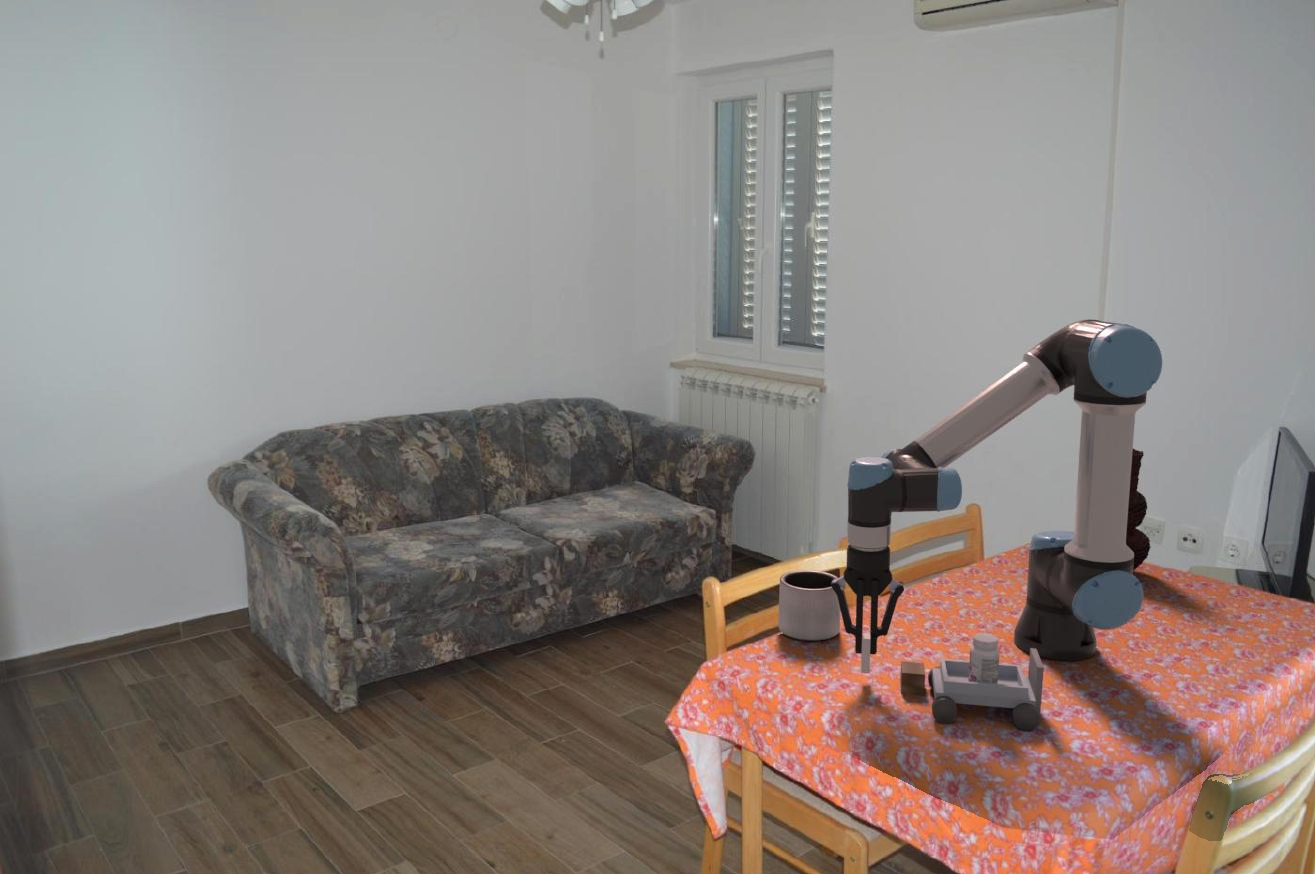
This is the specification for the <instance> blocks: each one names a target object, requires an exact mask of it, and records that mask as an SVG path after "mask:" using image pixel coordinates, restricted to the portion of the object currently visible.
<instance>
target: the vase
mask: <svg viewBox="0 0 1315 874" xmlns="http://www.w3.org/2000/svg"><path fill="white" fill-rule="evenodd" d="M1144 455H1145V454H1144V451H1143V450H1138V449H1135V448H1133V451H1132V464H1131V478H1130V491H1129V504H1128V518H1127V531H1126V545H1127V546H1128V547H1129V548H1130V549H1131V550H1132V551H1133V552H1134V564H1133V571H1135V570H1136V569H1138V568H1139V567H1140V566H1141V565H1142V564H1143V563H1144V561H1146V559H1148V556H1149V552H1150V550H1151V547H1152V546H1151V544H1150V543H1151V542H1150V538H1149V537H1148V536H1147V534H1146V533H1144V532H1143V531H1142V530H1140V529H1138V528H1139V526H1141V525H1142V524H1143V521H1144V518H1145V517H1146V515H1147V510H1148V502H1147V498H1146V496H1145V495H1144V494H1142V493H1141V492H1139V490H1138V488H1139V487H1138V486H1139V480H1140V478H1139V475H1140V469H1141V468H1142V459H1143V457H1144Z"/></svg>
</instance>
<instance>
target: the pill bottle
mask: <svg viewBox="0 0 1315 874" xmlns="http://www.w3.org/2000/svg"><path fill="white" fill-rule="evenodd" d="M998 645H999V639H998V637H997V636H996V635H994V634H991V633H985V632H980V633H979V632H978V633H976V634H974V635H973V639H972V646H971V647H970V648H969V649H970V650H969V661H970V664H969V679H968V680H969V682H980V683H992V684H997V683H998V669H999V663H1000V650H999V648H998Z"/></svg>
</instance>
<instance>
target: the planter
mask: <svg viewBox="0 0 1315 874" xmlns="http://www.w3.org/2000/svg"><path fill="white" fill-rule="evenodd" d="M838 578H839V577H838V576H837V575H834V574H832V573H829V572H826V571H823V570H822V571H821V570H814V569H813V570H811V569H810V570H808V569H806V570H805V569H801V570H791V571H788V572H786V573H784V574H782V575H781V576H780V578H779V592H778V593H779V596H778V597H779V598H778V619H777V620H778V622H777V625H778V629H779V631H780V632H781V633H782V634H783V635H785V636H787V637H789V638H791V639H794V640H798V641H803V642H804V641H805V642H819V641H820V642H821V640H823V641H826V639H827V640H830V639H832V638H834V637H836V636H837V635H838V634H839V633H840V629H841V610H840V606H839V601H838V597H837V595H836V593H835V592H834V590H833V589H832V580H833V579H838Z"/></svg>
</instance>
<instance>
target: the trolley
mask: <svg viewBox="0 0 1315 874" xmlns="http://www.w3.org/2000/svg"><path fill="white" fill-rule="evenodd" d="M1028 659H1029V661H1028V673H1027V674H1028V675H1025V674H1024V672H1023V669H1022V666H1021V665H1020V664H1013V663H1012V664H1011V663H1002V662H1001V663H1000V662H999V669H998V683H997V684H992V683H980V682H969V680H968V679H969V664H970V660H961V659H950V658H940V660H939V666H936V667H932V668H931V669H930V670H929V671H928V674H927V679H928V685H929V688H931V689H932V691H933V695H934V696H933V697H934V699H933V701H932V704H931V711H932V713H931V714H932V717H933V718H934V719H935V721H936V722H938V723H940V724H944V725H946V724H950V723H952V722H954V721H955V720H956V718H957V717H958V708H957V704H960V705H961V704H963V705H972V706H973V705H974V706H983V707H984V706H985V707H996V708H1009V709H1012V719H1013V723H1014V724H1015V726H1016V727H1017V728H1018V729H1019V730H1021V731H1024V732H1031V731H1034V730H1036V729H1037V728H1038V727H1039V726H1040V722H1041V710H1042V709H1041V707H1042V706H1041V705H1042V696H1043V683H1044V670H1045V669H1044V668H1045V667H1044V665H1043V662H1042V659H1041V657H1039V654H1038V652H1037V649H1034V648H1030V653H1029V658H1028Z"/></svg>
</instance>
